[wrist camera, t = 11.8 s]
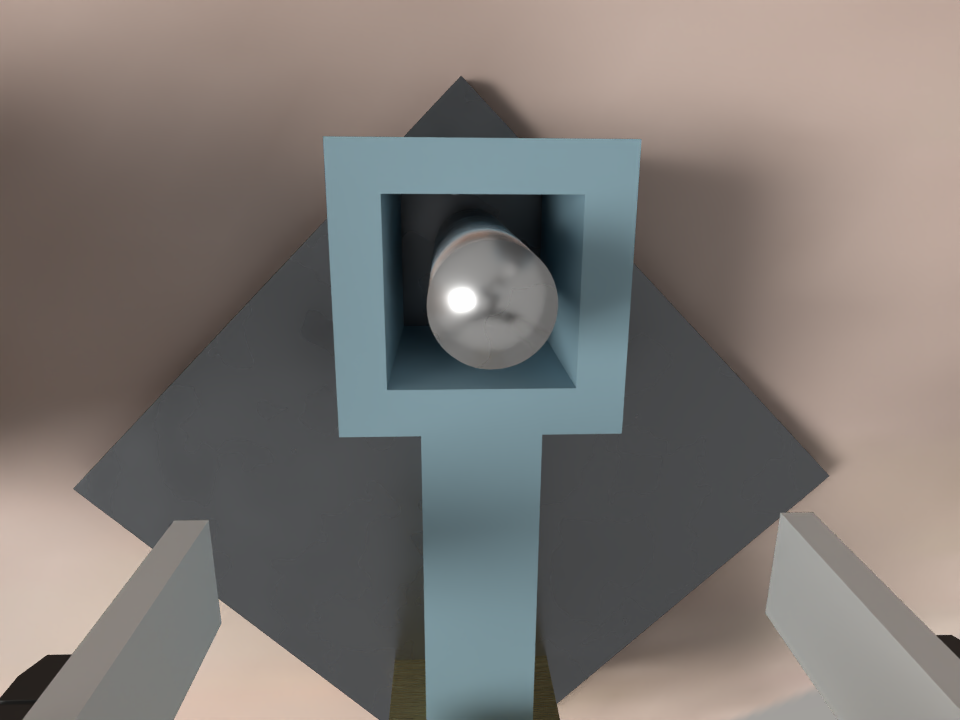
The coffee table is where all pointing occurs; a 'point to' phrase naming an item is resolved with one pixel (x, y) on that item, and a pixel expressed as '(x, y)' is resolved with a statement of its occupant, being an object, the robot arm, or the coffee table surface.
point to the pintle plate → (398, 464)
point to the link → (481, 381)
